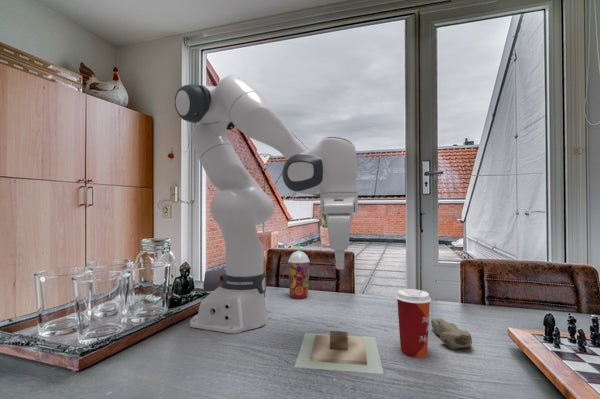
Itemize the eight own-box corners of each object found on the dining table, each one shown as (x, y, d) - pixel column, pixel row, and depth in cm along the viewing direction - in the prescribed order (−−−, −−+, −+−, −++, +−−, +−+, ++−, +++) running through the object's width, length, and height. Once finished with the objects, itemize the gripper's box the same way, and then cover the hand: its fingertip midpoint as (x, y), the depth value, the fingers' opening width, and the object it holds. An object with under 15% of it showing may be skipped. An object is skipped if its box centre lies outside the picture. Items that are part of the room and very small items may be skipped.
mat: (294, 369, 65) (294, 367, 65) (305, 334, 82) (305, 332, 83) (383, 376, 62) (383, 373, 62) (375, 339, 80) (375, 337, 80)
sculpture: (422, 332, 86) (449, 353, 72) (422, 315, 87) (449, 331, 72) (447, 334, 87) (480, 354, 72) (447, 316, 87) (480, 333, 72)
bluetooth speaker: (266, 292, 125) (266, 267, 125) (265, 298, 116) (265, 271, 116) (208, 293, 124) (208, 267, 124) (202, 299, 114) (203, 272, 115)
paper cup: (435, 363, 67) (434, 298, 68) (398, 360, 69) (397, 296, 69) (428, 347, 75) (427, 289, 75) (394, 345, 76) (394, 287, 77)
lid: (310, 361, 67) (310, 343, 67) (315, 338, 79) (315, 323, 79) (367, 365, 66) (367, 346, 66) (363, 341, 77) (363, 325, 77)
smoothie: (297, 292, 124) (297, 242, 125) (314, 296, 119) (314, 243, 119) (283, 297, 118) (283, 244, 118) (300, 301, 112) (300, 245, 113)
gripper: (328, 206, 84) (328, 258, 84) (322, 205, 64) (324, 273, 64) (351, 206, 84) (352, 258, 83) (354, 204, 63) (355, 273, 63)
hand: (340, 264), depth 73 cm, fingers open, 8 cm apart
